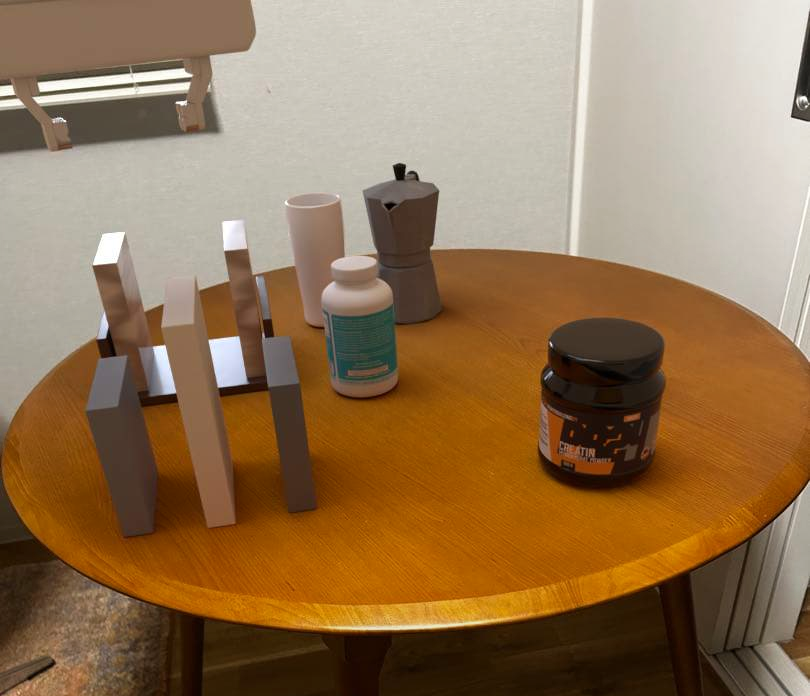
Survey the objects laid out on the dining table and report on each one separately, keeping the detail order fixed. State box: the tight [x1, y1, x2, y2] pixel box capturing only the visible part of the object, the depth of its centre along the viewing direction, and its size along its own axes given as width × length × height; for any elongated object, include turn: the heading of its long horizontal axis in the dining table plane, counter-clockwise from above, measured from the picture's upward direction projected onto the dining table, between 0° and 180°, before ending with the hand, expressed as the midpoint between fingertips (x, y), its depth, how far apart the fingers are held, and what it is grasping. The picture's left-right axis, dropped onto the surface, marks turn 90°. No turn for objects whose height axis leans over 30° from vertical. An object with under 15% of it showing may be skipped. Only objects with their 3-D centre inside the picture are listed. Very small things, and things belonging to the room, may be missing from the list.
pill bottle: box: [321, 255, 399, 398], centre depth 89 cm, size 8×7×14 cm
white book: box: [160, 274, 237, 529], centre depth 71 cm, size 2×11×18 cm, turn 11°
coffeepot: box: [362, 162, 443, 325], centre depth 105 cm, size 15×9×18 cm, turn 168°
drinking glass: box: [284, 191, 346, 328], centre depth 104 cm, size 7×7×15 cm
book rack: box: [91, 219, 275, 407], centre depth 93 cm, size 18×14×15 cm
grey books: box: [84, 334, 318, 538], centre depth 73 cm, size 16×10×12 cm, turn 101°
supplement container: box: [537, 317, 667, 488], centre depth 74 cm, size 10×10×12 cm
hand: (128, 139), depth 60 cm, fingers open, 8 cm apart
